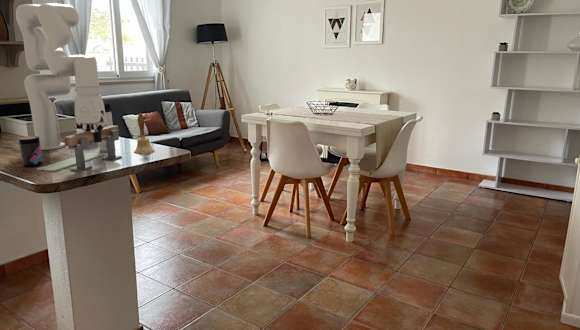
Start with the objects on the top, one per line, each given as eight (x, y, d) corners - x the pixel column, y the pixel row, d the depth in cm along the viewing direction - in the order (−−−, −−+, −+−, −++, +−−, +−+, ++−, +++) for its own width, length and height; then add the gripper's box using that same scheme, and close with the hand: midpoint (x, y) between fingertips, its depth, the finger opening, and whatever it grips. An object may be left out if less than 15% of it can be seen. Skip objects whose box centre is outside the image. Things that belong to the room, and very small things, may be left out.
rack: (69, 170, 154) (64, 138, 151) (110, 157, 173) (106, 128, 170) (83, 171, 152) (78, 139, 149) (122, 158, 171) (119, 129, 169)
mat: (36, 170, 155) (36, 168, 155) (89, 154, 179) (89, 152, 179) (54, 171, 153) (54, 170, 153) (106, 155, 177) (105, 153, 177)
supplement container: (27, 168, 157) (22, 140, 155) (19, 166, 161) (14, 138, 159) (46, 164, 162) (42, 137, 160) (38, 162, 166) (34, 135, 164)
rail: (65, 145, 150) (64, 137, 149) (112, 133, 172) (111, 125, 171) (72, 146, 149) (71, 137, 148) (118, 133, 171) (118, 125, 171)
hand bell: (134, 154, 177) (130, 115, 173) (133, 150, 185) (129, 113, 181) (155, 152, 181) (152, 114, 177) (153, 148, 188) (150, 111, 184)
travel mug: (110, 153, 180) (105, 104, 175) (96, 152, 181) (90, 104, 176) (119, 150, 186) (114, 102, 181) (105, 149, 187) (99, 102, 182)
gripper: (61, 91, 155) (68, 142, 160) (99, 93, 150) (105, 145, 155) (77, 89, 162) (83, 138, 167) (114, 91, 157) (119, 141, 162)
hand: (94, 141), depth 161 cm, fingers closed on rail, 3 cm apart
